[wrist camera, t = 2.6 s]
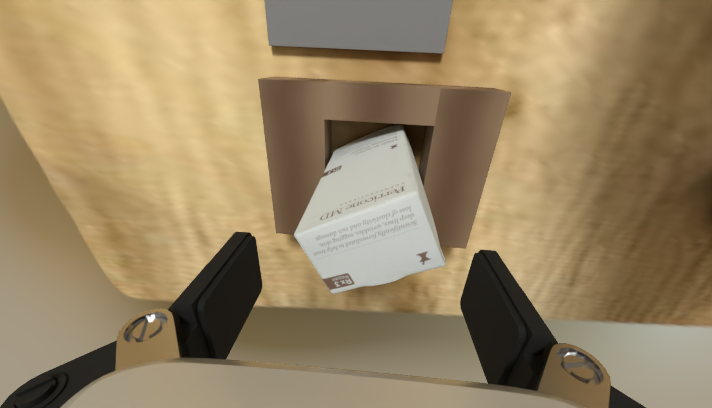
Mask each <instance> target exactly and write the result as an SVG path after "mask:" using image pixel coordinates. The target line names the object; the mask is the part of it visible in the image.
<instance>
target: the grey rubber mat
mask: <svg viewBox="0 0 712 408" xmlns="http://www.w3.org/2000/svg"><path fill="white" fill-rule="evenodd" d="M452 2H453V0H265V9H266V19H267V30H268V40H269V45H270V46H287V47H309V48H331V49H353V50H374V51H396V52H418V53H440V54H443V53H444V49H445V43H446V37H447V31H448V25H449V19H450V13H451V8H452Z"/></svg>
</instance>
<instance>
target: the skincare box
mask: <svg viewBox="0 0 712 408" xmlns="http://www.w3.org/2000/svg"><path fill="white" fill-rule="evenodd" d="M294 237H295V238H296V240H297V241H298V243H299V244H300V246H301V247H302V249H303V250H304V252H305V254H306V255H307V257H308V258H309V260H310V261H311V263H312V264H313V266H314V267H315V269H316V270H317V272H318V273H319V275H320V276H321V278H322V279H323V281H324V282H325V284H326V285H327V287H328V288H329V290H330V292H331V293H332V294H336V293H340V292H343V291H347V290H351V289H355V288H359V287H364V286H376V285H381V284H386V283H390V282H393V281H396V280H399V279H401V278H403V277H405V276H408V275H411V274H415V273H419V272H423V271H427V270H431V269H435V268H439V267H443V266H445V264H446V261H445V258H444V255H443V253H442V250H441V247H440V244H439V239H438V235H437V231H436V227H435V224H434V220H433V217H432V213H431V210H430V206H429V203H428V200H427V197H426V193H425V190H424V187H423V184H422V180H421V177H420V174H419V170H418V166H417V163H416V160H415V157H414V154H413V151H412V149H411V146H410V143H409V140H408V137H407V135H406V132H405V129H404V127H403V125H402V124H396V125H393V126H390V127H387V128H384V129H381V130H379V131H376V132H374V133H371V134H369V135H366V136H364V137H361V138H359V139H357V140H355V141H352V142H350V143H348V144H346V145H343V146H341V147H339V148H338V149H336V150H335V151H334V153H333V155H332V157H331V159H330V161H329V163H328V165H327V167H326V169H325V171H324V173H323V175H322V177H321V179H320V181H319V184H318V186H317V188H316V189H315V192H314V194H313V196H312V198H311V200H310V202H309V204H308V206H307V208H306V211H305V213H304V215H303V217H302V219H301V221H300V223H299V225H298V227H297V229H296V231H295V233H294Z"/></svg>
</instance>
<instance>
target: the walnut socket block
mask: <svg viewBox="0 0 712 408" xmlns="http://www.w3.org/2000/svg"><path fill="white" fill-rule="evenodd" d="M258 81H259V90H260V98H261V107H262V115H263V124H264V133H265V141H266V150H267V158H268V167H269V176H270V184H271V193H272V201H273V210H274V218H275V227H276V233H283V234H294V233H295V231H296V229H297V227H298V225H299V223H300V221H301V219H302V217H303V215H304V213H305V211H306V208H307V206H308V204H309V202H310V200H311V198H312V196H313V194H314V192H315V189H316V188H317V186H318V184H319V181H320V179H321V177H322V175H323V173H324V171H325V169H326V167H327V165H328V163H329V161H330V159H331V120H342V121H359V122H375V123H392V124H409V125H426V129H425V136H424V142H423V148H422V154H421V160H420V166H419V174H420V177H421V180H422V184H423V187H424V190H425V193H426V197H427V200H428V203H429V206H430V210H431V213H432V217H433V220H434V224H435V227H436V231H437V235H438V239H439V244H440V246H442V247H454V248H466V246H467V243H468V239H469V236H470V232H471V229H472V226H473V222H474V219H475V215H476V212H477V208H478V205H479V201H480V198H481V195H482V191H483V188H484V184H485V181H486V177H487V174H488V171H489V167H490V164H491V160H492V157H493V153H494V150H495V146H496V143H497V140H498V136H499V133H500V129H501V126H502V122H503V119H504V116H505V112H506V109H507V105H508V102H509V98H510V95H511V92H508V91H503V90H499V89H495V88H481V87H461V86H442V85H423V84H404V83H384V82H365V81H346V80H327V79H307V78H288V77H269V78H262V79H258Z"/></svg>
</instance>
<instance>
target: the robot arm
mask: <svg viewBox="0 0 712 408" xmlns="http://www.w3.org/2000/svg"><path fill="white" fill-rule="evenodd" d="M261 289H262V279H261V272H260V266H259V259H258V252H257V245H256V239H255V237H254V236H252V235H251V233H247V232H235V233H234V234H233V235H232V237H231V238H230V239H229V240H228V241H227V242H226V244H225V245H224V246H223V247H222V248H221V249H220V251H219V252H218V253H217V254H216V255H215V256H214V258H213V259H212V260H211V261H210V262H209V263H208V264H207V265H206V266H205V267H204V268H203V270H202V271H201V272H200V273H199V274H198V275H197V277H196V278H195V279H194V280H193V281H192V282H191V283H190V285H189V286H188V287H187V288H186V289H185V290H184V292H183V293H182V294H181V295H180V296H179V297H178V298H177V300H176V301H175V302H174V303H173V304H172V305H171V307H170V308H169V309H168V310H166V309H153V310H149V311H146V312H143V313H141V314H139V315H137V316H135V317H134V318H132V319H131V320H129V321H128V322H127V323H126V324H125V325H124V326H123V327H122V328H121V330H120V331H119V333H118V336H117V341H115V342H112V343H110V344H108V345H106V346H103V347H101V348H99V349H97V350H94V351H92V352H90V353H88V354H85V355H83V356H81V357H79V358H76V359H74V360H72V361H70V362H67V363H65V364H63V365H61V366H58V367H56V368H54V369H52V370H49V371H47V372H45V373H43V374H40V375H39V376H37V377H35V378H33V379H31V380H29V381H28V382H27V383H25V384H23V385H22V386H20V387H19V388H18V389H17V390H16V391H14V392H13V393H12V394H11V395H10V396H9V397H8V398H7V399H6V400H5V402H4V403H3V404H2V405H1V407H0V408H646V407H644V406H642V405H641V404H639V403H638V402H636V401H634V400H633V399H631V398H630V397H628V396H626V395H625V394H623V393H622V392H620V391H619V390H617V389H615V388H614V387H612V386H611V382H610V376H609V375H608V373H607V371H606V369H605V368H604V367H603V365H602V364H601V363H600V362H599V361H598V360H597V359H596V358H594V357H593V356H592V355H591V354H589V353H588V352H586V351H584V350H583V349H581V348H578V347H576V346H574V345H570V344H566V343H559V344H558V342H557V341H556V339H555V338H554V337H553V335H552V333H551V332H550V330H549V329H548V327H547V326H546V324H545V323H544V321H543V320H542V318H541V317H540V315H539V314H538V312H537V311H536V309H535V308H534V306H533V305H532V303H531V302H530V300H529V299H528V297H527V296H526V294H525V293H524V291H523V290H522V289H521V287H520V286H519V285H518V283H517V282H516V280H515V279H514V277H513V276H512V274H511V273H510V271H509V270H508V268H507V267H506V265H505V264H504V262H503V261H502V259H501V258H500V256H499V255H498V253H497V252H496V251H491V250H480V251H479V252H478V253H475V254H474V257H473V260H472V263H471V267H470V270H469V274H468V277H467V280H466V284H465V287H464V290H463V294H462V297H461V301H460V305H461V310H462V313H463V315H464V318H465V321H466V324H467V326H468V329H469V332H470V335H471V338H472V340H473V343H474V346H475V349H476V352H477V354H478V357H479V360H480V363H481V366H482V368H483V371H484V374H485V376H486V379H487V382H488V384H486V383H477V382H468V381H459V380H449V379H438V378H429V377H418V376H408V375H398V374H386V373H377V372H365V371H354V370H344V369H333V368H322V367H311V366H299V365H288V364H276V363H264V362H253V361H240V360H226V358H227V356H228V354H229V352H230V350H231V348H232V347H233V345H234V343H235V341H236V339H237V337H238V335H239V333H240V331H241V329H242V327H243V325H244V323H245V321H246V319H247V318H248V316H249V314H250V312H251V310H252V308H253V306H254V304H255V302H256V300H257V298H258V296H259V294H260V292H261Z"/></svg>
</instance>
